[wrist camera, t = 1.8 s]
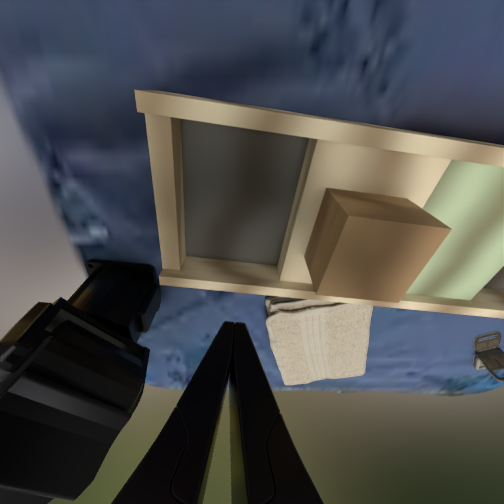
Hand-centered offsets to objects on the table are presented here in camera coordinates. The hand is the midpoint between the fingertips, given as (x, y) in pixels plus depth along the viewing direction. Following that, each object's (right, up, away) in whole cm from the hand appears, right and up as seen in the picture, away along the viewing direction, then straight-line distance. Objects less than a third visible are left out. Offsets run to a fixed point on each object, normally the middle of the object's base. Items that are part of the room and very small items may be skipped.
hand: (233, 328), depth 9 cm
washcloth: (+9, -7, +21) cm, 24 cm away
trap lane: (+13, +6, +11) cm, 18 cm away
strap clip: (+33, -10, +23) cm, 41 cm away
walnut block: (+8, +5, +9) cm, 13 cm away
